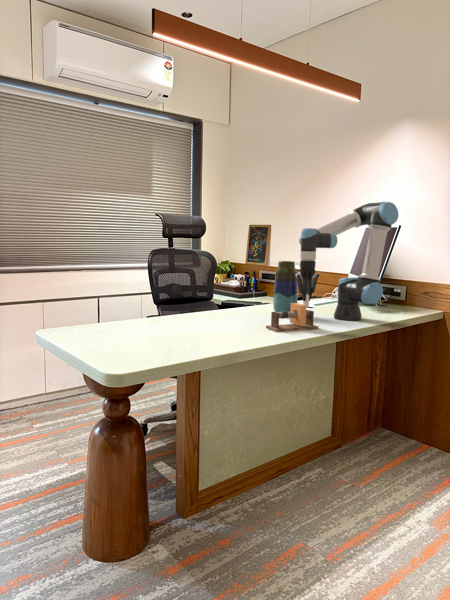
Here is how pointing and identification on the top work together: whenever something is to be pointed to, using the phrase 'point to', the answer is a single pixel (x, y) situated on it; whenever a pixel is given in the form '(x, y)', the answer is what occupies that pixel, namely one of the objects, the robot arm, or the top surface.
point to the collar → (298, 314)
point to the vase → (285, 286)
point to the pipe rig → (290, 327)
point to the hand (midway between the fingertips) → (305, 307)
